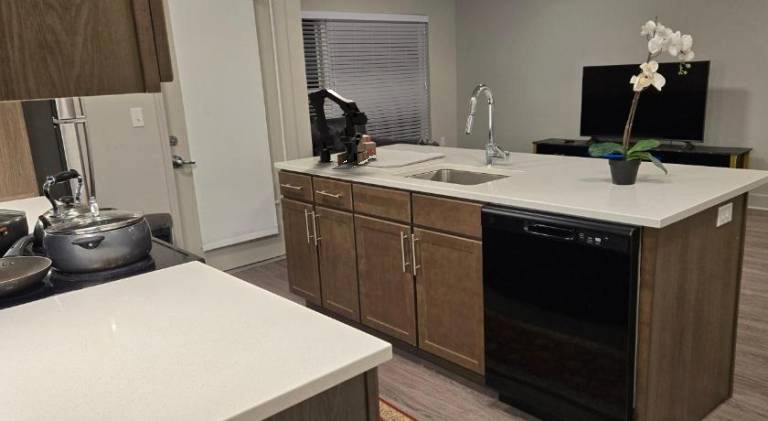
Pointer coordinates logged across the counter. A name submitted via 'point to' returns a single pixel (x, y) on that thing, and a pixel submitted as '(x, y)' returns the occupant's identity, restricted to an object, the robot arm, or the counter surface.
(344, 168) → the mat
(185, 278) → the counter surface
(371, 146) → the stack of blocks
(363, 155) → the open box
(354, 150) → the supplement bottle
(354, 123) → the robot arm
